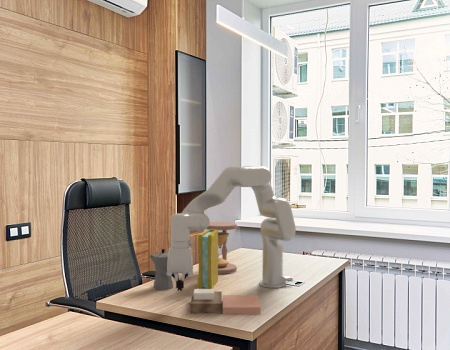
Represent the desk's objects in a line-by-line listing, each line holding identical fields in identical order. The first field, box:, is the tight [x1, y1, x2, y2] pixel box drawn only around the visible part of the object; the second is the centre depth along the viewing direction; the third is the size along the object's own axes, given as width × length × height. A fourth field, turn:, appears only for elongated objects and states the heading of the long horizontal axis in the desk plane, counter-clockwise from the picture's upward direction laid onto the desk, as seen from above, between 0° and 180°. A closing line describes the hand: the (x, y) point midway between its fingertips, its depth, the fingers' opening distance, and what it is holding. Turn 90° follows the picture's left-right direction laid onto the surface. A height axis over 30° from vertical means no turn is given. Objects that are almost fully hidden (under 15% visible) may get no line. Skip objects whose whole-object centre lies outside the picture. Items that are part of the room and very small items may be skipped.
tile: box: [193, 288, 215, 300], centre depth 187 cm, size 8×6×2 cm
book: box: [197, 229, 219, 289], centre depth 220 cm, size 17×7×25 cm, turn 168°
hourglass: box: [206, 221, 238, 275], centre depth 248 cm, size 18×18×25 cm
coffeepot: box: [148, 248, 174, 291], centre depth 215 cm, size 15×9×18 cm, turn 85°
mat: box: [222, 294, 261, 315], centre depth 187 cm, size 14×16×2 cm
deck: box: [189, 290, 223, 315], centre depth 187 cm, size 12×16×4 cm
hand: (179, 289), depth 187 cm, fingers closed
